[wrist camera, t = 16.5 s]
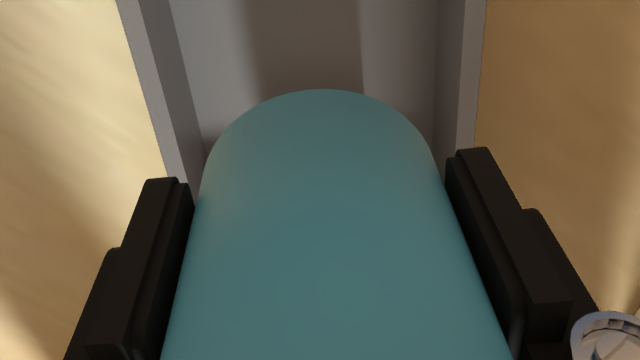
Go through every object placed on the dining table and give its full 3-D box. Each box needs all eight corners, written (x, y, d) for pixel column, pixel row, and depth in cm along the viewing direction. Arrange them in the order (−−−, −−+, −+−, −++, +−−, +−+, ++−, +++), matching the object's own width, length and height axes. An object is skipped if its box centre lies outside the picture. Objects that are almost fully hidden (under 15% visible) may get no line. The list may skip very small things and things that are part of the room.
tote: (441, 200, 32) (463, 259, 28) (211, 222, 32) (199, 283, 28) (459, -147, 22) (498, -135, 18) (124, -113, 22) (87, -93, 18)
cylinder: (432, 268, 13) (544, 633, 7) (226, 288, 13) (177, 664, 7) (441, 76, 10) (633, 429, 4) (177, 102, 10) (36, 483, 5)
